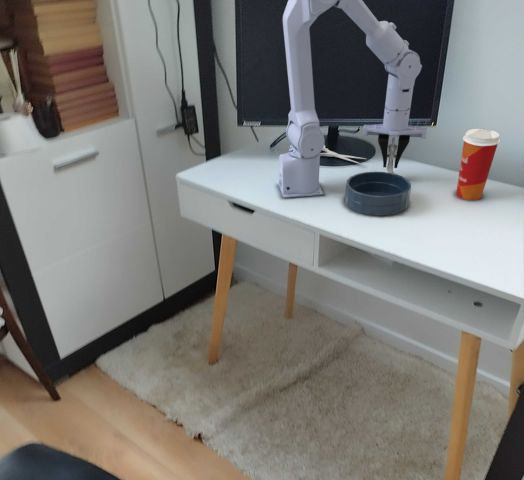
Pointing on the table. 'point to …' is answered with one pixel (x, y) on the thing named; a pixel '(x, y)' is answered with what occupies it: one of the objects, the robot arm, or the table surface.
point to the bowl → (377, 193)
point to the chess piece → (391, 157)
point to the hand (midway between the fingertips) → (390, 166)
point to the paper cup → (476, 162)
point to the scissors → (337, 155)
